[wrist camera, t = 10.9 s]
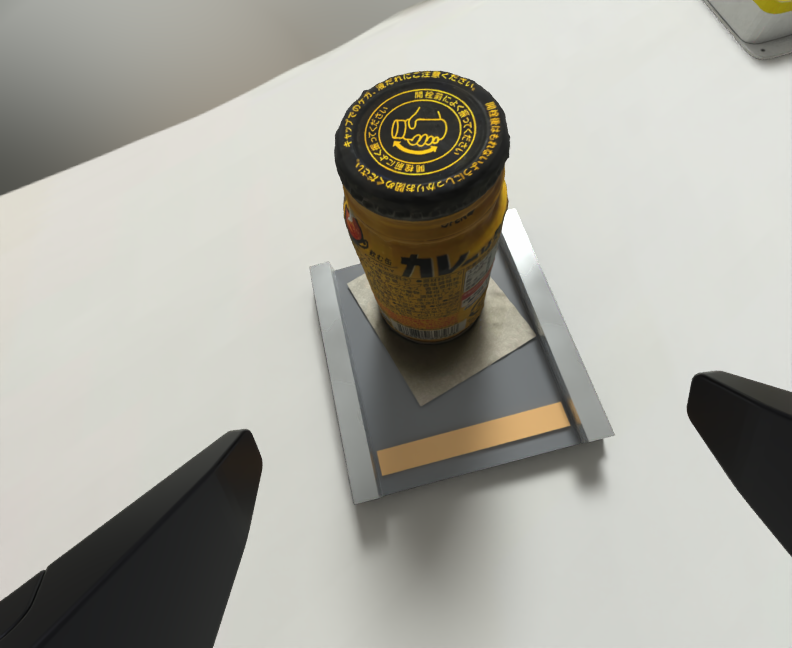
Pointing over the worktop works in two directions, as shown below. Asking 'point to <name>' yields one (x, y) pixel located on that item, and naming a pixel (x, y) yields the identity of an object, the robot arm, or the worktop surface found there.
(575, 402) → the guide rails
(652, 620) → the worktop surface
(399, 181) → the condiment
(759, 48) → the emergency button
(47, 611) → the robot arm
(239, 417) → the worktop surface
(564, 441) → the mounting plate
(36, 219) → the worktop surface
